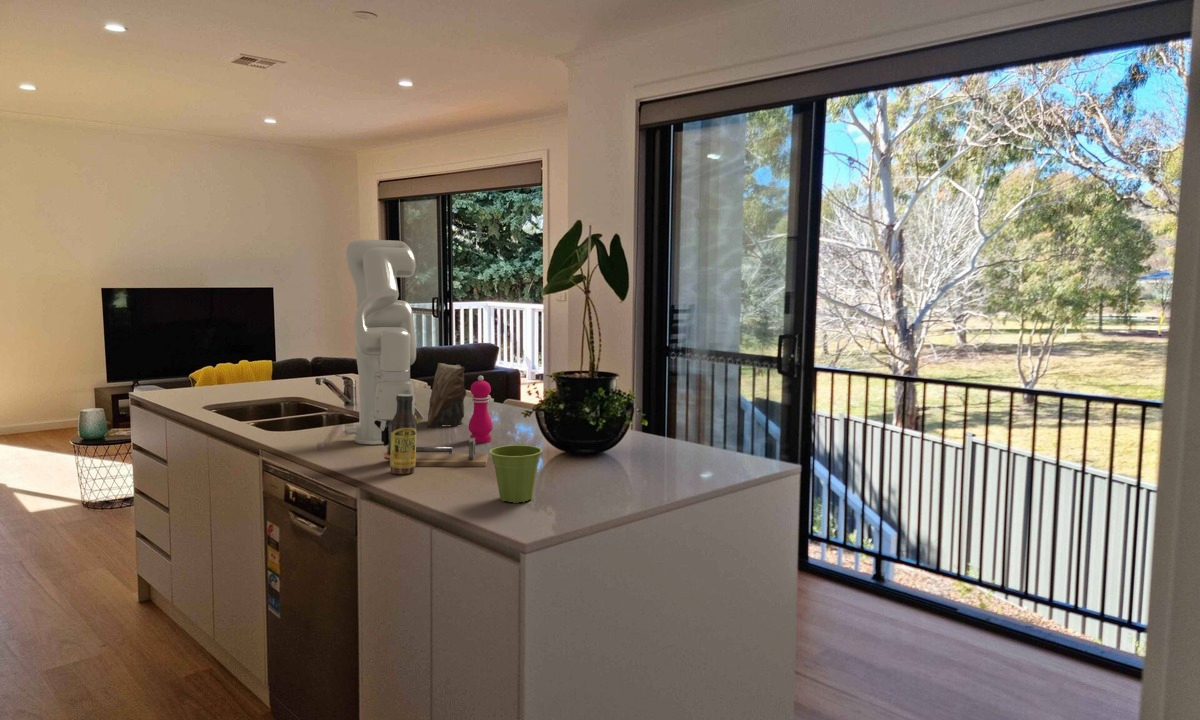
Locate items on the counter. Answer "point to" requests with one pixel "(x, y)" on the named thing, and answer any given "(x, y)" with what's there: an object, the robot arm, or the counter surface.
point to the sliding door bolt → (418, 449)
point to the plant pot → (515, 471)
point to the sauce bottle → (403, 437)
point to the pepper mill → (480, 412)
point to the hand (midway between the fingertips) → (396, 444)
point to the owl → (447, 396)
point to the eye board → (453, 458)
